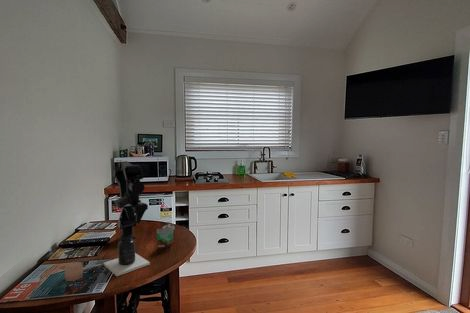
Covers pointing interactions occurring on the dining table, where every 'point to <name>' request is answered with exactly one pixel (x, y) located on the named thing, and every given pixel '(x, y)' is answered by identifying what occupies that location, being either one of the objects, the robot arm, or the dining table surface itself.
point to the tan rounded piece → (73, 271)
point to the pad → (122, 269)
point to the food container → (165, 235)
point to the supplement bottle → (126, 249)
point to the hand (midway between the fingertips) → (133, 221)
